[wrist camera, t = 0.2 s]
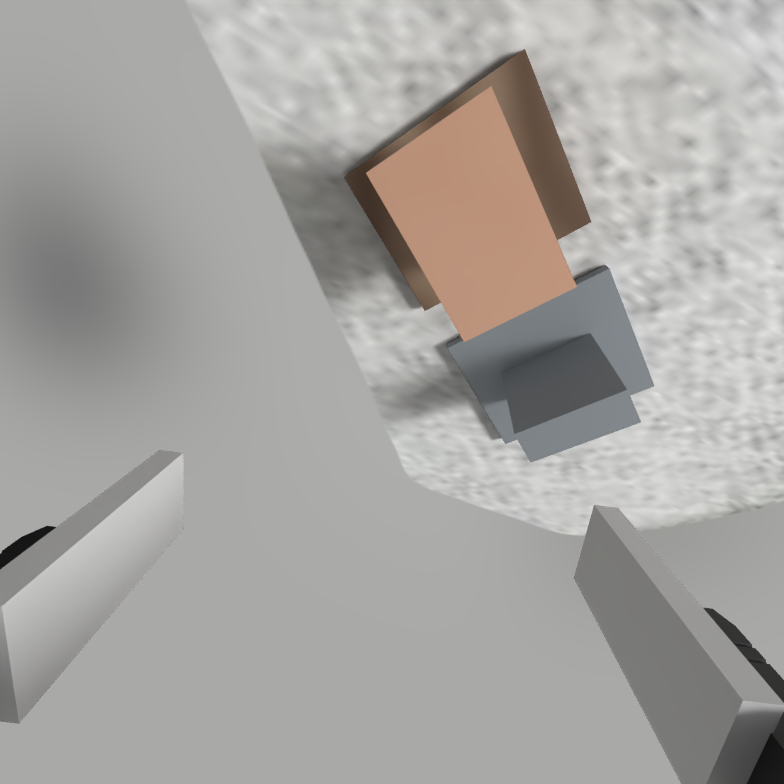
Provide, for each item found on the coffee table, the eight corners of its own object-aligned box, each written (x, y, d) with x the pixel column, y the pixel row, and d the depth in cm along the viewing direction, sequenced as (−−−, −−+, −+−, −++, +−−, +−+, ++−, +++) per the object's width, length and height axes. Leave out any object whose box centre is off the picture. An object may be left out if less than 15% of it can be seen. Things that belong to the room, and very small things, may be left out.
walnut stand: (522, 50, 29) (554, 26, 21) (587, 219, 34) (635, 255, 26) (346, 175, 34) (313, 197, 26) (425, 306, 39) (420, 361, 30)
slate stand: (605, 264, 36) (655, 313, 27) (649, 380, 40) (704, 451, 32) (447, 343, 40) (448, 404, 32) (504, 437, 45) (517, 512, 37)
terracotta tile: (488, 87, 22) (491, 85, 21) (570, 278, 27) (576, 287, 25) (370, 169, 25) (365, 173, 23) (463, 332, 29) (464, 342, 28)
